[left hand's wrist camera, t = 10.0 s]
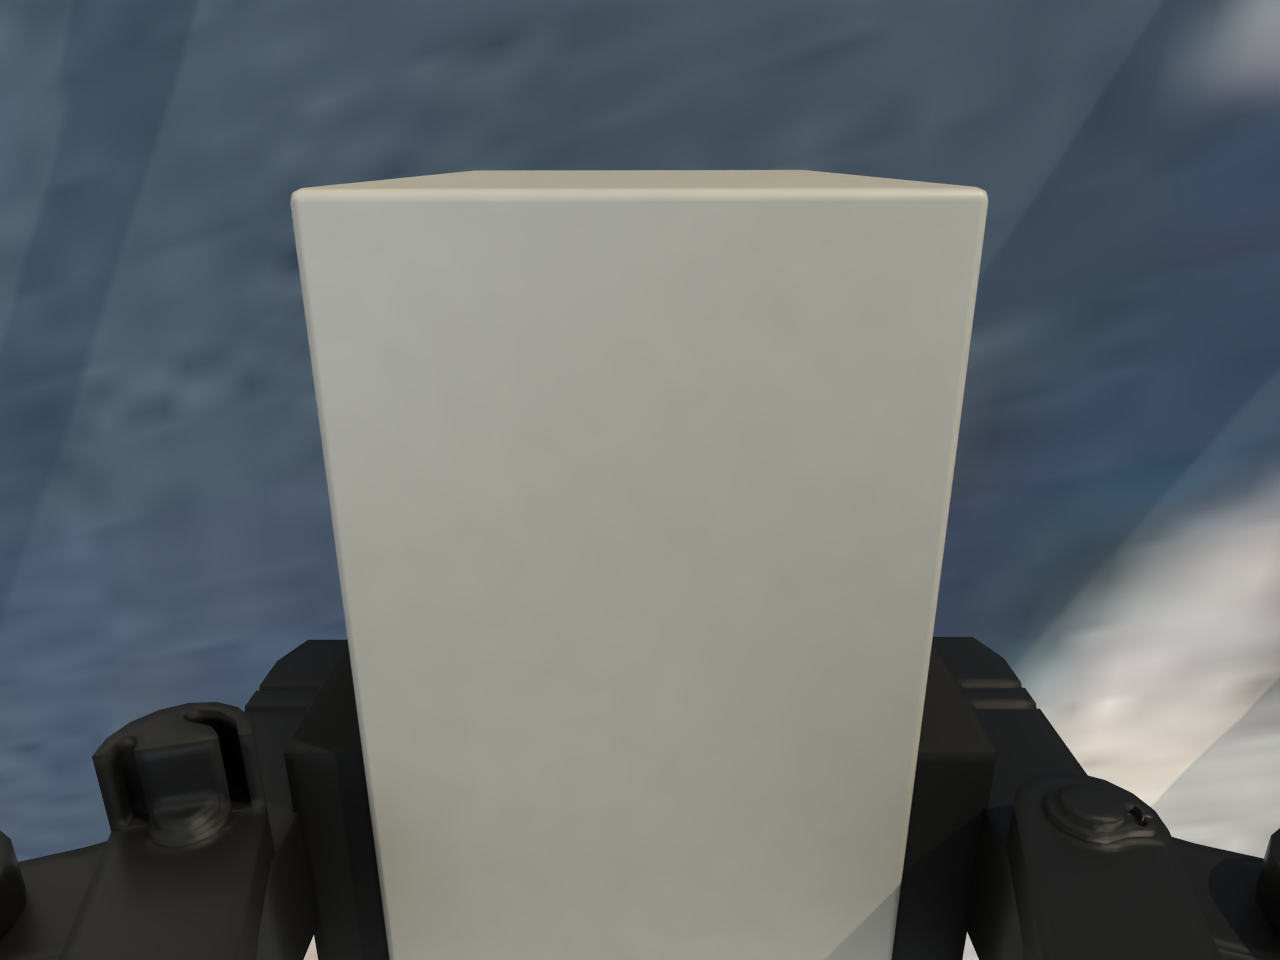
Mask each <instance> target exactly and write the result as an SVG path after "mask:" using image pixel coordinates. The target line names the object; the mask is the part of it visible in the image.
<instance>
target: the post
mask: <svg viewBox="0 0 1280 960" xmlns="http://www.w3.org/2000/svg"><path fill="white" fill-rule="evenodd" d="M290 204H291V211H292V219H293V226H294V234H295V242H296V249H297V257H298V265H299V272H300V280H301V287H302V295H303V303H304V310H305V318H306V326H307V333H308V341H309V348H310V356H311V364H312V371H313V379H314V387H315V394H316V402H317V409H318V417H319V425H320V432H321V440H322V448H323V455H324V463H325V470H326V478H327V486H328V493H329V501H330V509H331V516H332V524H333V531H334V539H335V547H336V554H337V562H338V570H339V577H340V585H341V592H342V600H343V608H344V615H345V623H346V631H347V638H348V646H349V653H350V661H351V669H352V676H353V684H354V692H355V699H356V707H357V715H358V722H359V730H360V737H361V745H362V753H363V760H364V768H365V776H366V783H367V791H368V798H369V806H370V814H371V821H372V829H373V837H374V844H375V852H376V859H377V867H378V875H379V882H380V890H381V898H382V905H383V913H384V920H385V928H386V936H387V943H388V951H389V959H390V960H891V959H892V951H893V944H894V936H895V928H896V920H897V912H898V904H899V897H900V889H901V881H902V873H903V865H904V857H905V850H906V842H907V834H908V826H909V818H910V810H911V803H912V795H913V787H914V779H915V771H916V763H917V756H918V748H919V740H920V732H921V724H922V716H923V709H924V701H925V693H926V685H927V677H928V669H929V662H930V654H931V646H932V638H933V630H934V622H935V614H936V607H937V599H938V591H939V583H940V575H941V567H942V560H943V552H944V544H945V536H946V528H947V520H948V513H949V505H950V497H951V489H952V481H953V473H954V466H955V458H956V450H957V442H958V434H959V426H960V419H961V411H962V403H963V395H964V387H965V379H966V372H967V364H968V356H969V348H970V340H971V332H972V325H973V317H974V309H975V301H976V293H977V285H978V278H979V270H980V262H981V254H982V246H983V238H984V231H985V223H986V215H987V207H988V198H987V193H986V191H984V190H982V189H980V188H978V187H970V186H960V185H950V184H940V183H929V182H919V181H909V180H899V179H889V178H878V177H868V176H858V175H848V174H838V173H828V172H817V171H807V170H590V171H467V172H457V173H447V174H438V175H428V176H418V177H408V178H398V179H388V180H378V181H368V182H359V183H349V184H339V185H329V186H319V187H309V188H301V189H299V190H297V191H295V192H293V193H292V197H291V201H290Z"/></svg>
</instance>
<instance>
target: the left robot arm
mask: <svg viewBox="0 0 1280 960" xmlns="http://www.w3.org/2000/svg"><path fill="white" fill-rule="evenodd" d="M92 758H93V762H94V766H95V770H96V774H97V778H98V782H99V786H100V789H101V793H102V797H103V801H104V805H105V809H106V813H107V817H108V820H109V824H110V828H111V834H110V836H109V839H108V841H106V842H102V843H99V844H95V845H92V846H88V847H85V848H80V849H76V850H71V851H67V852H62V853H58V854H53V855H49V856H44V857H39V858H35V859H30V860H26V861H21V862H18V861H17V858H16V855H15V851H14V848H13V845H12V842H11V839H10V838H9V837H7V836H6V835H5V834H4V833H3V832H1V831H0V960H303V959H304V957H305V954H306V952H307V950H308V947H309V945H310V942H311V940H312V938H313V935H314V937H315V943H316V949H317V955H318V960H390V959H389V951H388V943H387V936H386V928H385V920H384V913H383V905H382V898H381V890H380V882H379V875H378V867H377V859H376V852H375V844H374V837H373V829H372V821H371V814H370V806H369V798H368V791H367V783H366V776H365V768H364V760H363V753H362V745H361V737H360V730H359V722H358V715H357V707H356V699H355V692H354V684H353V676H352V669H351V661H350V653H349V646H348V640H307V641H306V642H304V643H303V644H301V645H300V646H299V647H297V648H296V649H294V650H293V651H291V652H290V653H288V654H287V655H285V656H284V657H283V658H281V659H280V660H278V661H277V662H276V664H275V665H274V666H273V668H272V669H271V671H270V672H269V674H268V675H267V676H266V678H265V679H264V681H263V682H262V683H261V685H260V690H259V691H256V692H255V693H254V695H253V696H252V697H251V699H250V700H249V702H248V703H247V704H246V706H245V712H243V711H242V710H241V709H240V708H238V707H235V706H231V705H226V704H222V703H218V702H207V703H188V704H183V705H179V706H175V707H170V708H166V709H161V710H158V711H156V712H153V713H151V714H149V715H146V716H144V717H142V718H139V719H137V720H134V721H132V722H130V723H129V724H127V725H126V726H124V727H123V728H121V729H120V730H118V731H117V732H115V733H114V734H112V735H111V736H110V737H108V738H107V739H106V740H105V741H104V742H103V744H102V745H101V746H100V747H99V749H98V750H97V751H96V752H95V753H94V755H93V756H92ZM967 932H968V934H969V937H970V939H971V941H972V944H973V946H974V949H975V951H976V953H977V956H978V958H979V960H1280V829H1278V830H1277V831H1276V832H1275V833H1274V834H1272V835H1271V838H1270V841H1269V844H1268V847H1267V851H1266V854H1265V857H1264V859H1263V858H1258V857H1254V856H1249V855H1245V854H1240V853H1236V852H1231V851H1226V850H1222V849H1217V848H1213V847H1208V846H1204V845H1199V844H1195V843H1191V842H1188V841H1184V840H1181V839H1177V838H1174V837H1171V835H1170V832H1169V830H1168V829H1167V827H1166V826H1165V824H1164V823H1163V822H1162V820H1161V819H1160V817H1159V816H1158V814H1157V813H1156V812H1155V811H1154V810H1153V809H1152V808H1151V807H1149V806H1148V805H1147V804H1146V803H1144V802H1143V801H1142V800H1140V799H1139V798H1138V797H1137V796H1135V795H1134V794H1133V793H1131V792H1129V791H1127V790H1125V789H1122V788H1120V787H1118V786H1116V785H1114V784H1112V783H1110V782H1108V781H1106V780H1103V779H1099V778H1095V777H1091V776H1088V775H1087V774H1086V773H1085V771H1084V770H1083V768H1082V767H1081V766H1080V764H1079V763H1078V761H1077V760H1076V759H1075V757H1074V756H1073V754H1072V753H1071V752H1070V750H1069V749H1068V747H1067V746H1066V745H1065V743H1064V742H1063V740H1062V739H1061V738H1060V736H1059V735H1058V733H1057V732H1056V731H1055V729H1054V728H1053V726H1052V725H1051V724H1050V722H1049V721H1048V719H1047V718H1046V717H1045V715H1044V714H1043V712H1042V711H1041V710H1040V709H1037V708H1036V703H1035V701H1034V700H1033V699H1032V697H1031V696H1030V694H1029V693H1028V692H1027V690H1026V689H1025V688H1022V686H1021V682H1020V680H1019V679H1018V678H1017V676H1016V675H1015V673H1014V672H1013V671H1012V669H1011V668H1010V666H1009V665H1008V664H1007V662H1006V661H1005V659H1004V658H1003V657H1001V656H1000V655H998V654H997V653H995V652H994V651H992V650H991V649H989V648H988V647H986V646H985V645H984V644H982V643H981V642H979V641H978V640H976V639H975V638H973V637H933V638H932V646H931V654H930V662H929V669H928V677H927V685H926V693H925V701H924V709H923V716H922V724H921V732H920V740H919V748H918V756H917V763H916V771H915V779H914V787H913V795H912V803H911V810H910V818H909V826H908V834H907V842H906V850H905V857H904V865H903V873H902V881H901V889H900V897H899V904H898V912H897V920H896V928H895V936H894V944H893V951H892V959H891V960H962V958H963V952H964V946H965V940H966V934H967Z"/></svg>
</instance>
